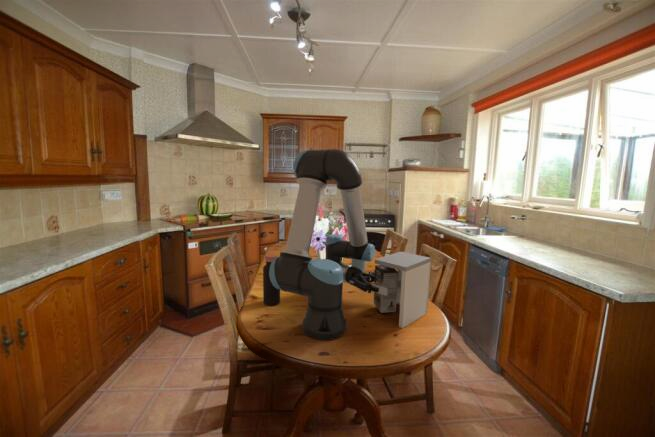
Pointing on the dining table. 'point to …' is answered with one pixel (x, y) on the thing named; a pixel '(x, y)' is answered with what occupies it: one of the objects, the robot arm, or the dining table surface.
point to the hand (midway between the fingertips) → (395, 288)
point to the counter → (410, 284)
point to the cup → (359, 264)
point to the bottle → (269, 283)
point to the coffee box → (388, 280)
